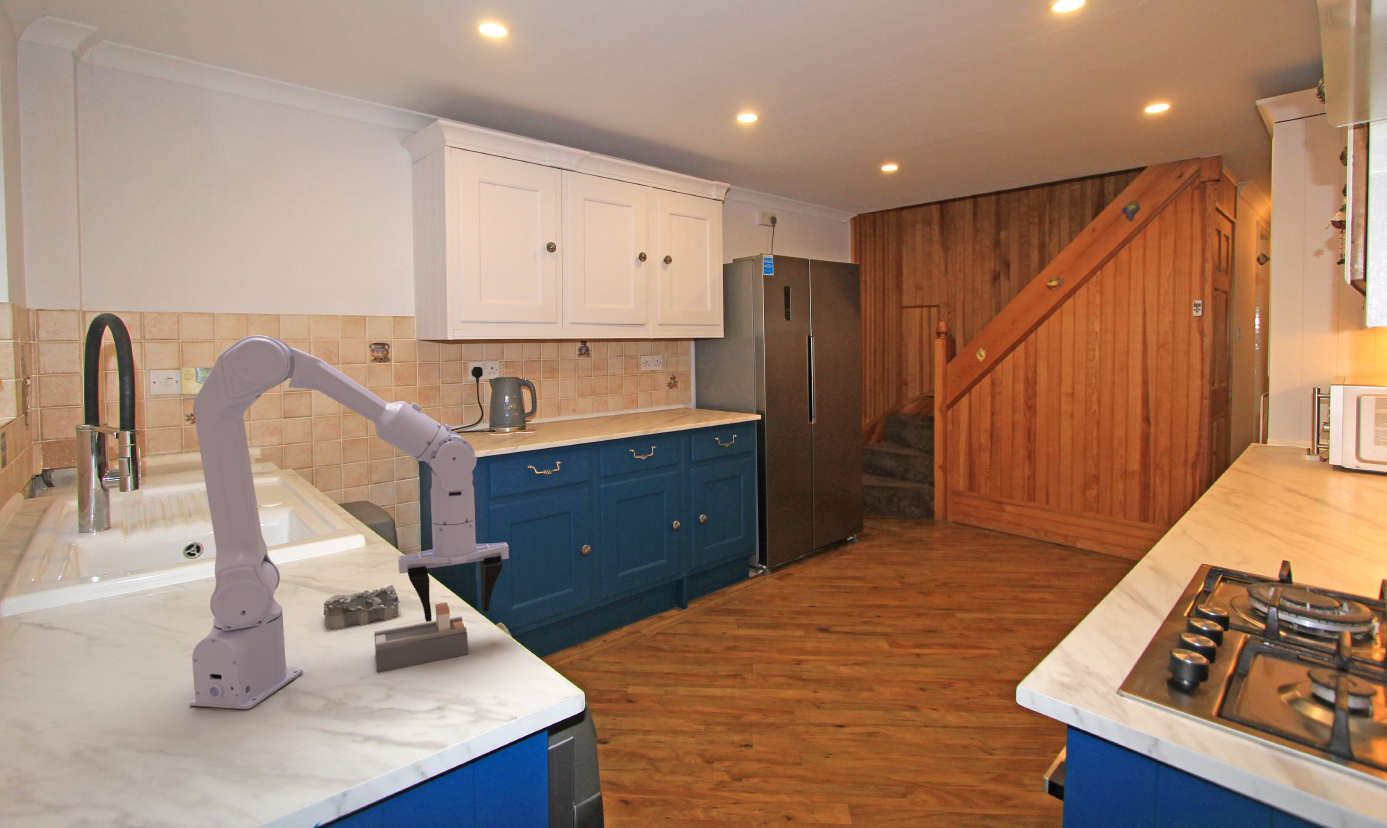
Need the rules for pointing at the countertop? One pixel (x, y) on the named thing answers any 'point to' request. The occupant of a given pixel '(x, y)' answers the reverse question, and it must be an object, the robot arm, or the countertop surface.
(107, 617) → the countertop surface
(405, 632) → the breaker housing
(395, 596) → the egg carton
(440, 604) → the breaker handle
